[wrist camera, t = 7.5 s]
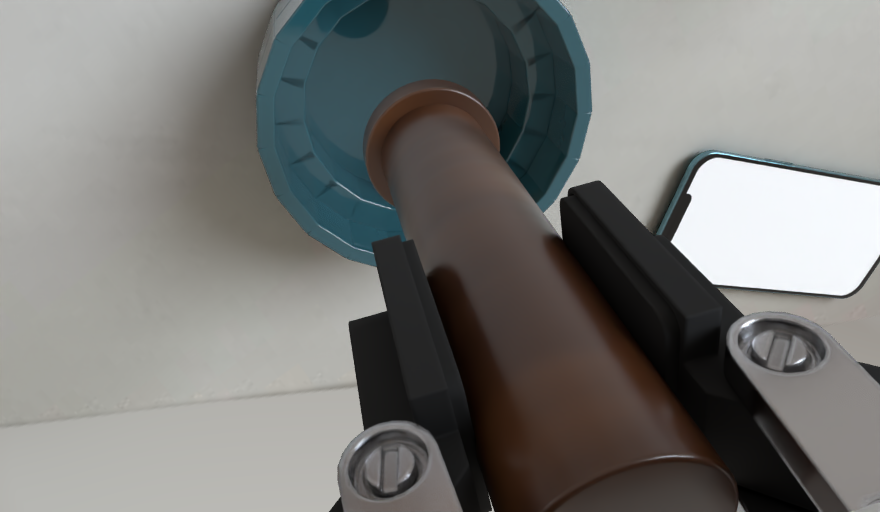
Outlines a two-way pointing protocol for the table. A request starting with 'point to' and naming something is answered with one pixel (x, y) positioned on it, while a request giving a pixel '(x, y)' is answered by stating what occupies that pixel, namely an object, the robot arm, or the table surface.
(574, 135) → the bowl
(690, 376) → the robot arm
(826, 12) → the table surface
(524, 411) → the brown flanged cylinder
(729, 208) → the smartphone
